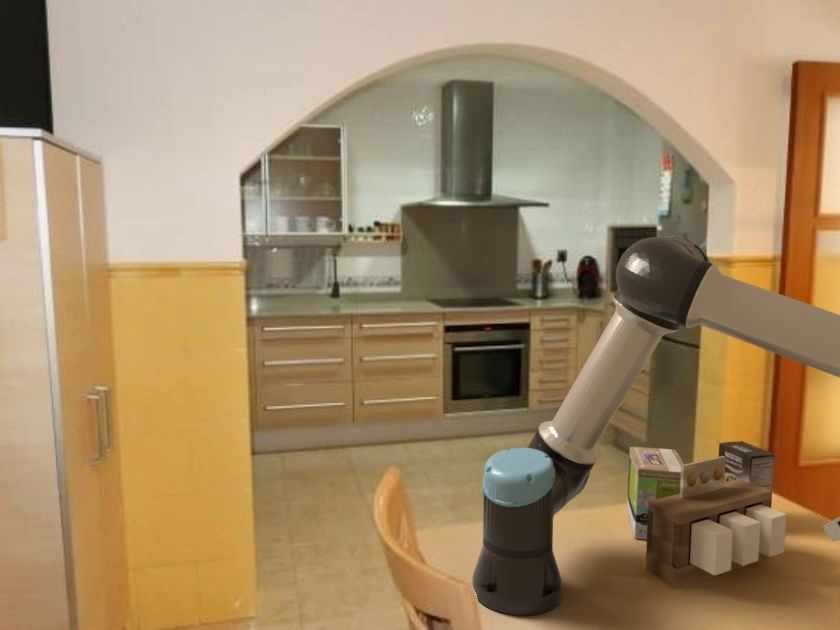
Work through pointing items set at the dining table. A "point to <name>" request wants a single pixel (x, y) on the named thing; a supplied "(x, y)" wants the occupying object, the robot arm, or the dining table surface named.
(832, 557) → the dining table surface
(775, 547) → the right button
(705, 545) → the left button
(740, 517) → the middle button
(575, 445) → the robot arm
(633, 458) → the tea box
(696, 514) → the console
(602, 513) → the dining table surface
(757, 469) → the coffee box
